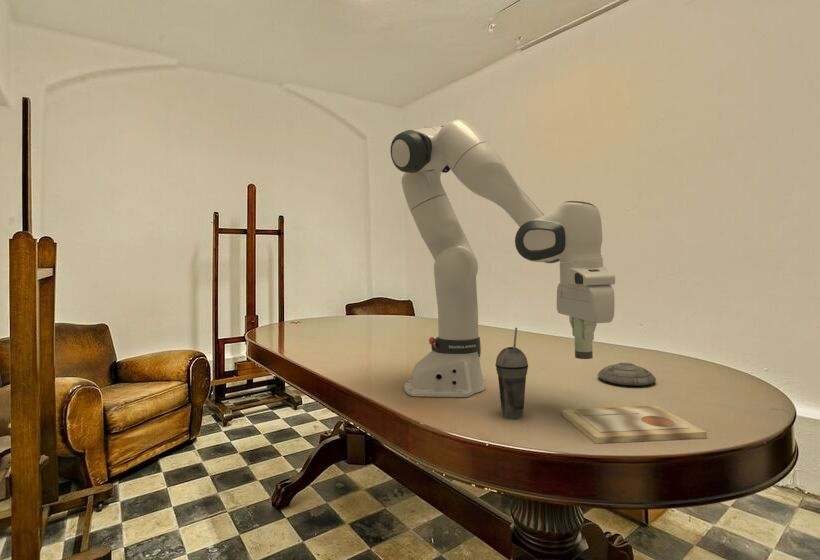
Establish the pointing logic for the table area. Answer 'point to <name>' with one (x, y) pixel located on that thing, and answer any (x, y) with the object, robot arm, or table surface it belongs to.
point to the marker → (581, 341)
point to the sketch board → (631, 424)
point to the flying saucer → (626, 374)
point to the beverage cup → (512, 380)
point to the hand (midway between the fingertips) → (582, 338)
